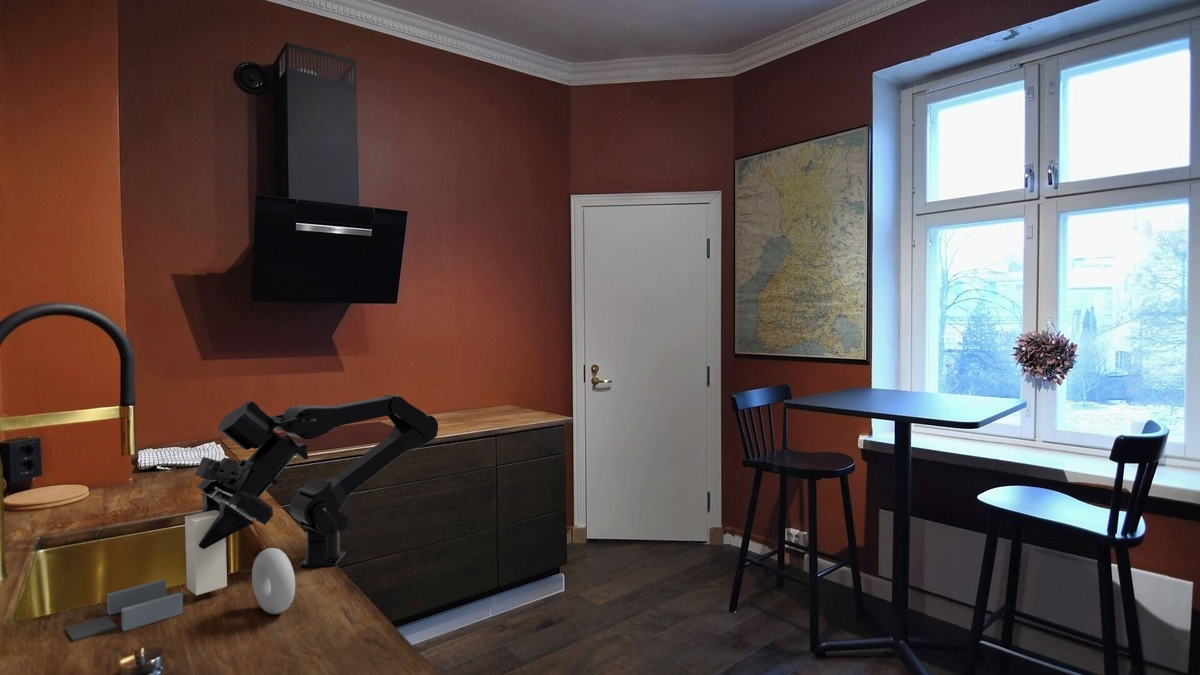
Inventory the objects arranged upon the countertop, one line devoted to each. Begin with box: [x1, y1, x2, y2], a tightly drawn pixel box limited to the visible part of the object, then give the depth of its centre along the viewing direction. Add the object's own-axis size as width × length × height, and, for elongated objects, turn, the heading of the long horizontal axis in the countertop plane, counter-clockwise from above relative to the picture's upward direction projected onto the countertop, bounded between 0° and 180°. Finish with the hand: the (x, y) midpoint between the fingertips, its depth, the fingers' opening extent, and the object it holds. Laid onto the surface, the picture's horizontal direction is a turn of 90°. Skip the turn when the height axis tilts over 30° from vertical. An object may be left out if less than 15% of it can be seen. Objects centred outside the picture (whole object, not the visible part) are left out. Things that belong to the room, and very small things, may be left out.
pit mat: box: [64, 615, 118, 642], centre depth 92 cm, size 5×6×1 cm
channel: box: [106, 578, 184, 632], centre depth 97 cm, size 8×9×3 cm
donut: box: [251, 547, 296, 615], centre depth 97 cm, size 10×4×10 cm, turn 51°
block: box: [184, 510, 228, 596], centre depth 104 cm, size 4×4×12 cm
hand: (195, 544), depth 103 cm, fingers closed on block, 4 cm apart
